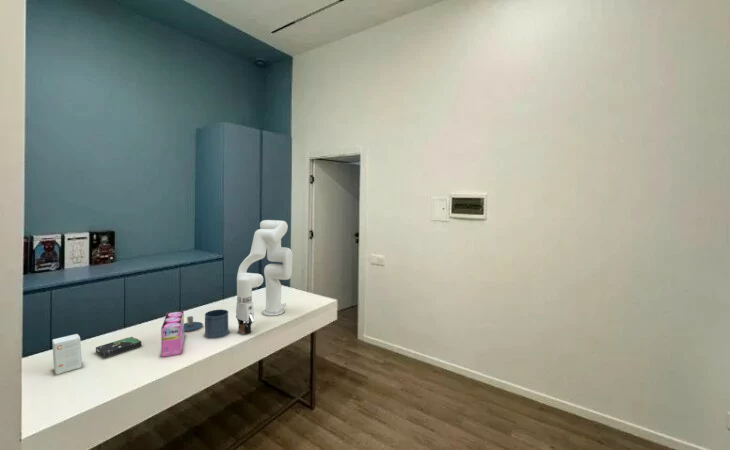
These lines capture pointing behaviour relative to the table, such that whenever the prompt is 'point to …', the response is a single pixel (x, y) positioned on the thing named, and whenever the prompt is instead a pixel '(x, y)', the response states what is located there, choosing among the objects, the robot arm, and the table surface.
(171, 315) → the gum box
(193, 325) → the lid
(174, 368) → the table surface
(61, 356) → the small box
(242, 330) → the block
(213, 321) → the canister
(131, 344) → the disk drive
